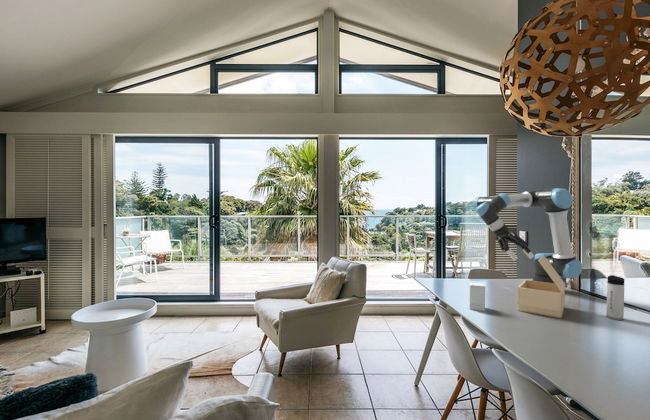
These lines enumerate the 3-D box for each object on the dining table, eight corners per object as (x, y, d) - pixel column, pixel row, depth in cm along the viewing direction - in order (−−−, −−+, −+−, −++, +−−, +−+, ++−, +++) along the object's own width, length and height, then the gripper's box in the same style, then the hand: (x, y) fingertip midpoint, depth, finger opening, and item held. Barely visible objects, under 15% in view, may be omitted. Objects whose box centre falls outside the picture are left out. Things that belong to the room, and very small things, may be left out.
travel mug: (618, 316, 166) (619, 275, 166) (626, 321, 160) (627, 278, 159) (603, 315, 168) (604, 274, 167) (610, 319, 161) (611, 277, 161)
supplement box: (485, 311, 172) (485, 286, 172) (469, 309, 175) (469, 285, 174) (483, 307, 179) (484, 283, 179) (468, 305, 182) (468, 281, 181)
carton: (523, 300, 192) (524, 279, 191) (564, 307, 180) (564, 284, 180) (516, 310, 173) (517, 287, 173) (561, 318, 162) (562, 293, 162)
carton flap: (542, 255, 185) (543, 254, 185) (564, 285, 179) (565, 284, 179) (537, 260, 169) (539, 259, 168) (562, 293, 163) (563, 292, 162)
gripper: (481, 234, 200) (505, 263, 198) (507, 227, 176) (535, 261, 173) (490, 227, 201) (514, 256, 199) (517, 219, 177) (544, 252, 175)
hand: (523, 258), depth 186 cm, fingers open, 13 cm apart
